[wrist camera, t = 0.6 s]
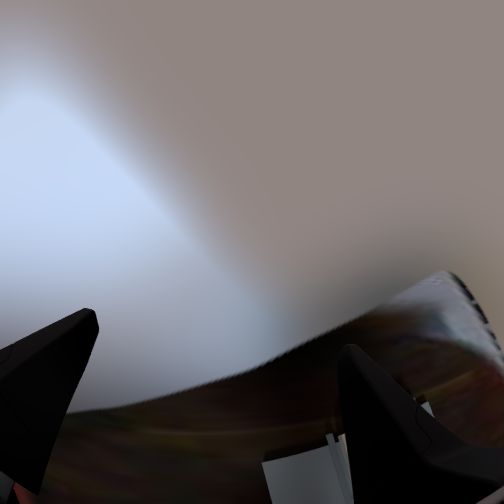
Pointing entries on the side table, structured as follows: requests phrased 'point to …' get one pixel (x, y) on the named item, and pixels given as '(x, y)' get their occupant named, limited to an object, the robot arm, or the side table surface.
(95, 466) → the side table surface
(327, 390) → the side table surface
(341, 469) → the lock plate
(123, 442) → the side table surface
